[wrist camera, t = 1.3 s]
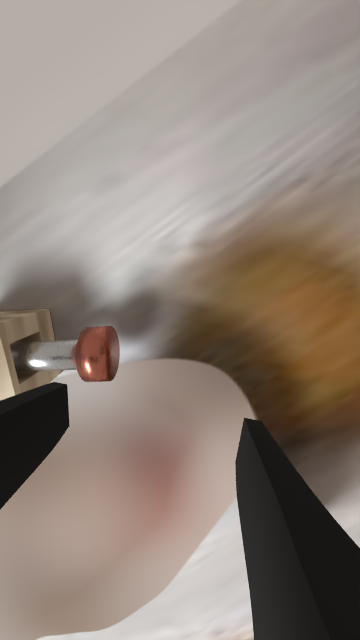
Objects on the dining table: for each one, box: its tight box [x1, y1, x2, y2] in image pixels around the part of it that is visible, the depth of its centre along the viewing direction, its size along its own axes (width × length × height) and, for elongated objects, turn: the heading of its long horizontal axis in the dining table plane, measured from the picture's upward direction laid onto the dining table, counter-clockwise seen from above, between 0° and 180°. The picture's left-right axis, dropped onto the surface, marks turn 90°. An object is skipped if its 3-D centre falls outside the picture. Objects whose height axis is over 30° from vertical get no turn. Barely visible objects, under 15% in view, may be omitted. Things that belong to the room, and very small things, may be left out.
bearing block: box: [0, 309, 61, 401], centre depth 16 cm, size 5×6×5 cm
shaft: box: [9, 326, 120, 382], centre depth 16 cm, size 8×4×4 cm, turn 93°
